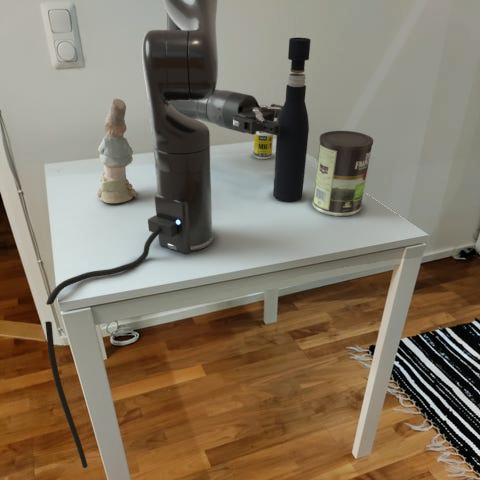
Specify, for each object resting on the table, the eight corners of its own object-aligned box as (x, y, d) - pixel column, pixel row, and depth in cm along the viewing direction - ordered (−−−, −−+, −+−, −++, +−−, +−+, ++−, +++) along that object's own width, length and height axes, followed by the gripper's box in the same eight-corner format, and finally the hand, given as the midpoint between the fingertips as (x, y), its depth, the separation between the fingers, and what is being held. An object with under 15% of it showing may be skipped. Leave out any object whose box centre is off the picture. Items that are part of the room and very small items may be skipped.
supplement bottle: (256, 160, 121) (257, 126, 116) (251, 154, 125) (252, 121, 120) (274, 158, 123) (276, 125, 117) (268, 152, 126) (270, 120, 121)
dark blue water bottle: (308, 198, 103) (325, 39, 84) (285, 204, 100) (297, 42, 81) (289, 188, 107) (302, 35, 88) (267, 194, 104) (275, 37, 86)
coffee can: (368, 203, 101) (381, 136, 92) (349, 221, 94) (361, 149, 85) (324, 192, 105) (333, 127, 97) (303, 208, 98) (310, 139, 90)
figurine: (140, 203, 99) (127, 102, 87) (99, 207, 98) (80, 104, 85) (136, 187, 106) (124, 91, 94) (98, 190, 104) (81, 93, 92)
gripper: (209, 98, 96) (273, 112, 88) (253, 86, 104) (314, 99, 96) (210, 135, 100) (270, 152, 92) (252, 122, 109) (311, 136, 101)
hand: (293, 125), depth 94 cm, fingers open, 8 cm apart
